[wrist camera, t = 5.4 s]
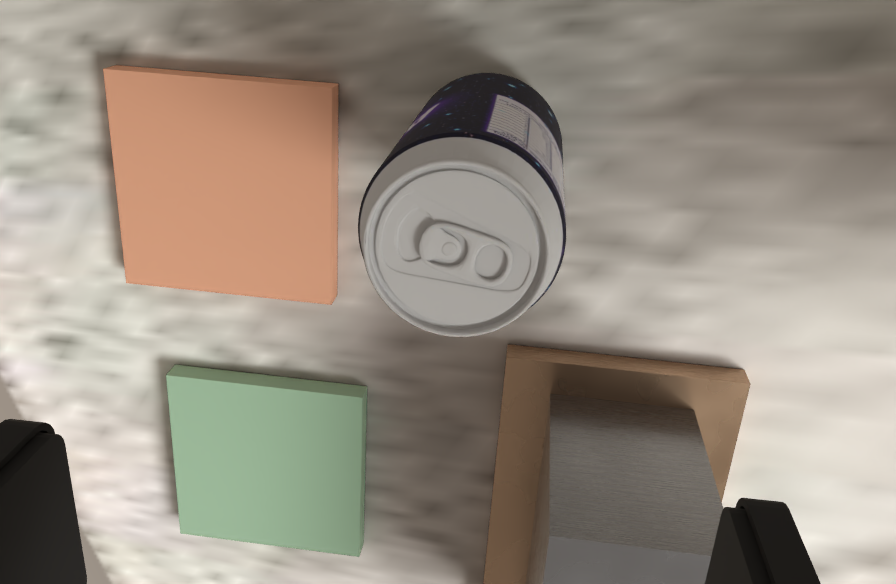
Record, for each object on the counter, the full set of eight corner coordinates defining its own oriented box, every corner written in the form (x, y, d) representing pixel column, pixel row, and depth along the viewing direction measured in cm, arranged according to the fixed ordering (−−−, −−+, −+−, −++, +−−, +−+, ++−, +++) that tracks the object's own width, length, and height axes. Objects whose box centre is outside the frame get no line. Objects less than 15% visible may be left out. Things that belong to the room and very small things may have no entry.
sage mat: (175, 364, 38) (166, 375, 37) (367, 386, 37) (362, 397, 36) (188, 520, 41) (180, 533, 41) (363, 542, 41) (359, 556, 40)
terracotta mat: (115, 64, 32) (103, 68, 32) (338, 83, 32) (332, 88, 31) (137, 274, 36) (126, 282, 35) (337, 295, 35) (331, 304, 34)
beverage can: (441, 48, 31) (379, 112, 20) (583, 97, 31) (600, 188, 20) (399, 186, 33) (324, 311, 22) (532, 231, 33) (522, 377, 22)
